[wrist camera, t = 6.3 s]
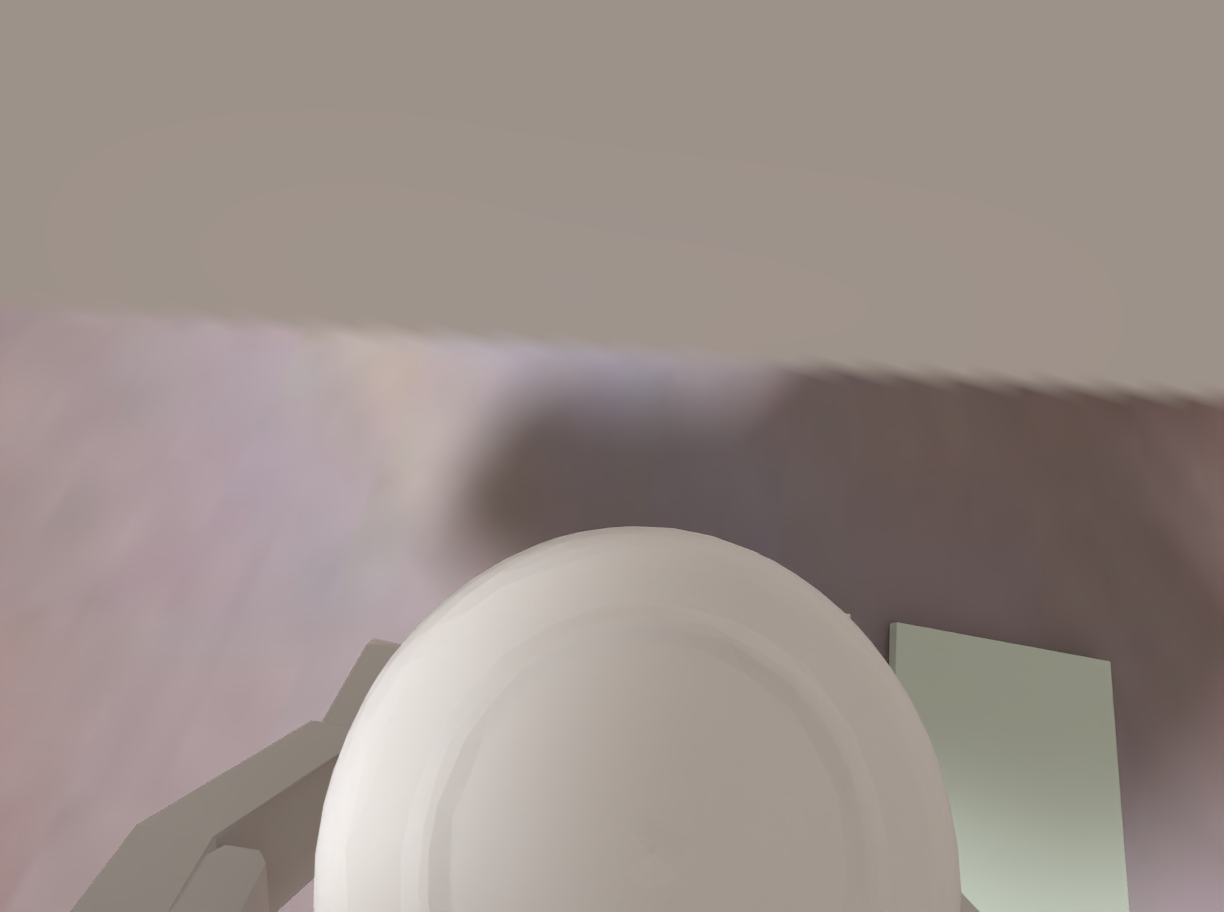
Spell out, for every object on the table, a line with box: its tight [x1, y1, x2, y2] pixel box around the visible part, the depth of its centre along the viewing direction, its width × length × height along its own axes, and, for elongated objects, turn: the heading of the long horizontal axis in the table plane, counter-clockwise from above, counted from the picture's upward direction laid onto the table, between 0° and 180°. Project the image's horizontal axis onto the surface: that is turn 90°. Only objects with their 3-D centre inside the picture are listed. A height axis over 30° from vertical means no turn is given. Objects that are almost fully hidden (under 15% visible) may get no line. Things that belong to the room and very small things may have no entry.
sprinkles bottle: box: [314, 526, 961, 912], centre depth 11 cm, size 5×4×14 cm
